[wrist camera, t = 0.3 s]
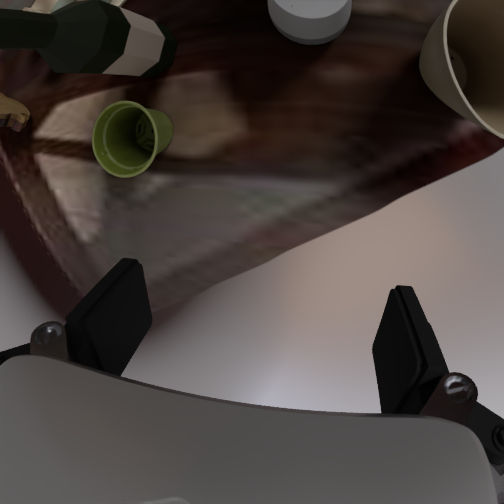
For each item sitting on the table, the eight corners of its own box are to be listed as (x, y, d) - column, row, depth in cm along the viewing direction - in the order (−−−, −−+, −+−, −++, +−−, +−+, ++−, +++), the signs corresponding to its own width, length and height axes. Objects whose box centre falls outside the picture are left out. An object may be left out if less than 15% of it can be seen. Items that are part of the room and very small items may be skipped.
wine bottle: (181, 70, 35) (-11, 52, 9) (129, 85, 37) (-62, 107, 11) (174, 17, 32) (-1, -49, 5) (122, 35, 33) (-59, 16, 7)
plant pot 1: (180, 168, 42) (152, 184, 34) (123, 158, 42) (89, 171, 35) (190, 103, 37) (162, 104, 30) (130, 97, 38) (95, 99, 30)
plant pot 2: (403, 126, 34) (458, 143, 20) (381, 19, 28) (422, -22, 14) (492, 124, 31) (564, 144, 17) (475, 26, 25) (540, 6, 11)
